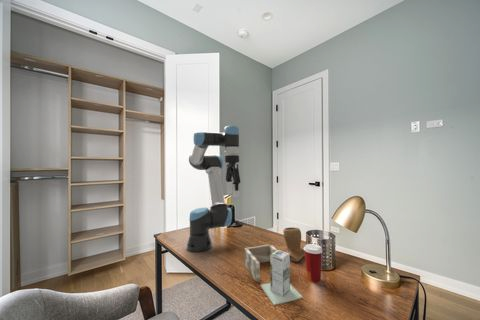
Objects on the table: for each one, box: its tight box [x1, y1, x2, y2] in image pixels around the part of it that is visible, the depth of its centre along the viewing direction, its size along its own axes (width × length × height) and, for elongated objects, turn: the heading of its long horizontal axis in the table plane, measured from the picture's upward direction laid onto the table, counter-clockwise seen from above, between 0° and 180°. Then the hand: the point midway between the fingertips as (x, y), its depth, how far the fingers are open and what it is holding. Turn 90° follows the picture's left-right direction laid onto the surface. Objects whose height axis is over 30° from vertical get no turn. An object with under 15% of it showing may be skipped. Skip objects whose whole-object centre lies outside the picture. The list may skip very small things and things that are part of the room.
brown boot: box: [283, 226, 305, 262], centre depth 109 cm, size 15×12×15 cm
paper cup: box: [303, 243, 323, 284], centre depth 87 cm, size 8×8×14 cm
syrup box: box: [269, 249, 291, 296], centre depth 78 cm, size 6×6×14 cm
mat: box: [260, 282, 303, 306], centre depth 78 cm, size 12×12×1 cm
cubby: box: [243, 244, 278, 283], centre depth 95 cm, size 16×15×8 cm
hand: (232, 195), depth 104 cm, fingers open, 13 cm apart
